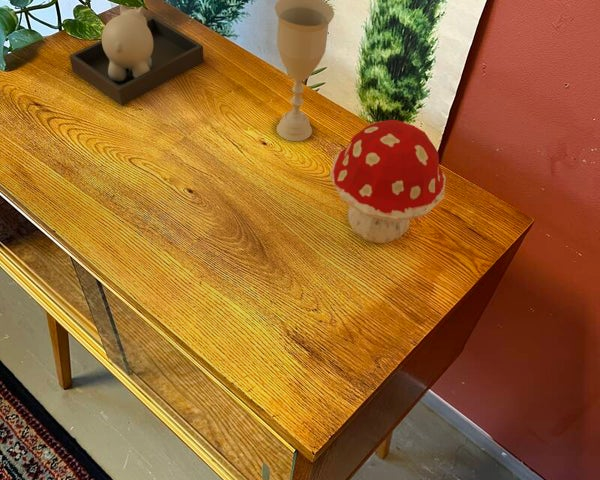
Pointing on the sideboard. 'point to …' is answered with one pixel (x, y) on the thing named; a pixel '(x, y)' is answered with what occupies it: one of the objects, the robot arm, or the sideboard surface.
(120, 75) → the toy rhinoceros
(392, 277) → the sideboard surface
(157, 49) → the tray
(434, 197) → the decorative mushroom
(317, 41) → the chalice
